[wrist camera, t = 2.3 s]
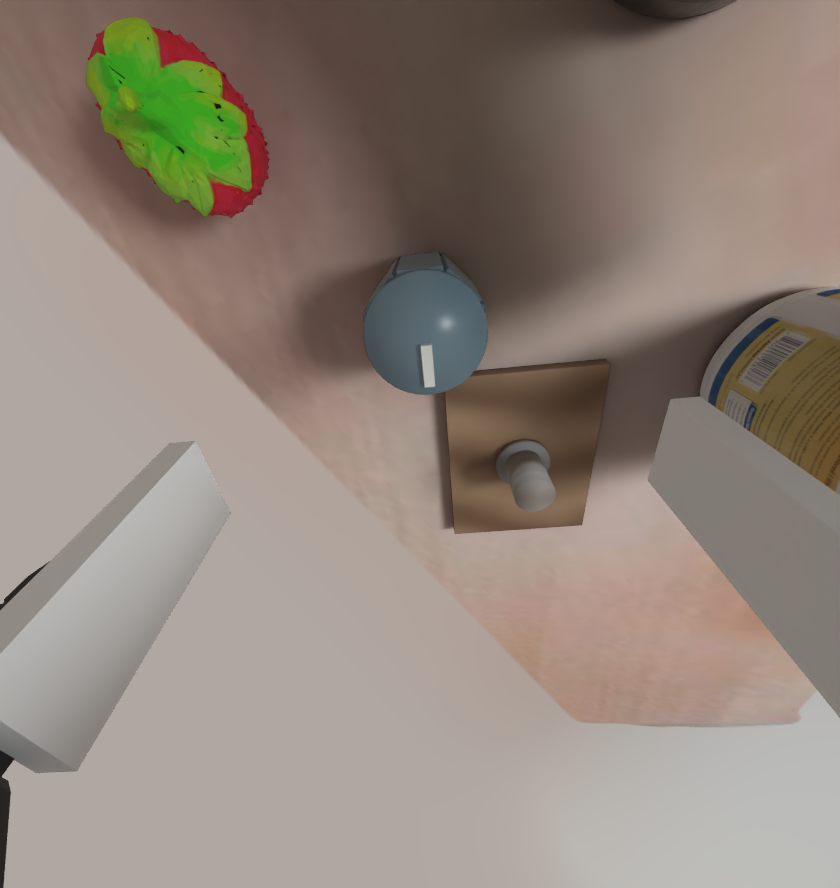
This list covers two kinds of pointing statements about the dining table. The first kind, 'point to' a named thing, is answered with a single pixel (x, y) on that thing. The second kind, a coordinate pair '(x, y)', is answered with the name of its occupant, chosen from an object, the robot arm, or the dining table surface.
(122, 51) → the strawberry
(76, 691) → the robot arm
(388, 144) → the dining table surface
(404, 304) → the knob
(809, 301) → the supplement tub
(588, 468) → the stud board
